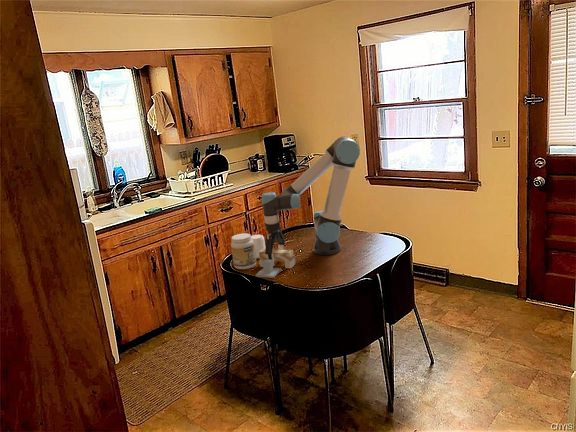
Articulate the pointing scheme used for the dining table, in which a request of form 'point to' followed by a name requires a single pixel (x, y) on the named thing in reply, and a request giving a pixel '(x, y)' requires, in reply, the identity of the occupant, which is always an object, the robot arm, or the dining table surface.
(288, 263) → the rack
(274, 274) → the pale grey stand
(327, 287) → the dining table surface
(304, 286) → the dining table surface
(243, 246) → the supplement tub
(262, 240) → the white tapered cup
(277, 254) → the bar
